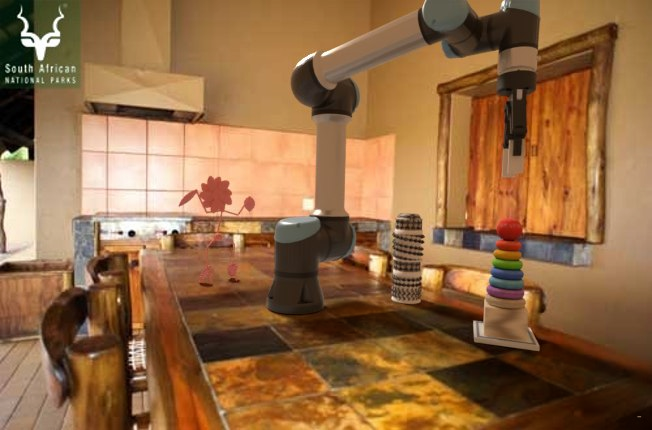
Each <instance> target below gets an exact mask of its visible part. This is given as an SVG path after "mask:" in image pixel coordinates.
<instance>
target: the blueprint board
mask: <svg viewBox="0 0 652 430" xmlns="http://www.w3.org/2000/svg"><path fill="white" fill-rule="evenodd" d="M472 321H473V322H472V323H473V324H472V327H473V341H474V343H477V344H478V343H479V344H486V345H493V346H501V347H508V348H515V349H522V350H530V351H535V352H540V344H539V342H538V340H537V339H536V337H535V334H534V332H533V331H532V329H531V327H528V326H527V339H526V341H521V340H514V339H507V338H500V337H493V336H486V335H484V328H483V321H481V320H479V321H478V320H472Z"/></svg>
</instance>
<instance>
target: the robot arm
mask: <svg viewBox="0 0 652 430" xmlns="http://www.w3.org/2000/svg"><path fill="white" fill-rule="evenodd" d="M540 6H541V0H503V1H502V2H501V4H500V8H499V11H497V12H493V13H490V14H487V15H482V16H479V15H478V13H477V12H476V11H475V10H474V9H473V8H472V7H471V5H470V4H469V2H468V0H424V2H423V5H422V7H420V8H417V9H415V10H413V11H411V12H409V13H407V14H404V15H402V16H400V17H398V18H396V19H394V20H392V21H389V22H388V23H385V24H383V25H381V26H378V28H374V29H373V30H371V31H368V32H366V33H363V34H362V35H360V36H358V37H355V38H353V39H351V40H350V41H349V40H348V41H347V42H345V43H343V44H341V45H338V46H335V47H334V48H332V49H330V50H327V51H324V50H322V49H321V50H320V49H319V50H317V51H315V52H313V53H311V54H309V55H307V56H306V57H304V58H302V59H301V60H300V61H299V62H298V63H297V64H296V66H295V67H294V68H293V70H292V72H291V76H290V87H291V88H290V89H291V92H292V95H293V96H294V98H295V99H296V100H297V101H298V102H299V103H300V104H302V105H304V106H306V107H308V108H311V110H310V111H311V118H310V119H311V121H313V123H314V124H315V125H316V129H315V130H316V131H315V132H316V134H315V135H316V138H315V139H316V140H315V142H316V143H315V174H314V175H315V177H314V178H315V179H314V180H315V183H314V185H315V186H314V188H315V189H314V190H315V191H314V209H312V210H311V212H310V213H309V214H308V215H309V216H308V215H307V216H297V217H296V216H294V217H285V218H283V219H281V220H279V221H278V222H277V223H276V224H275V228H274V229H275V231H274V237H273V239H274V249H273V250H274V261H273V262H274V263H273V264H274V265H273V267H274V268H273V279H272V282H271V285H270V287H269V291H268V293H267V297H266V308H267V310H270V311H272V312H274V313H279V314H285V315H305V314H306V315H307V314H312V313H317V312H318V313H319V312H320V311H322V310H323V309H324V308H325V297H324V294H323V293H324V292H323V290H322V289H323V288H322V286H321V283H320V280H319V279H320V278H319V272H320V271H319V268H320V264H321V263H327V262H336V261H340V260H341V259H344V258H347V257H348V256H349V255H350V254H351V253H352V252H353V250H354V249H355V247H356V243H357V232H356V229H355V228H354V227H353V225H352V223H350V213H348V211H347V210H346V209H345V196H346V195H345V194H346V158H347V157H346V155H347V154H346V153H347V151H346V150H347V126H348V125H349V124H350V123H351V121H352V120H353V114H354V113H355V112H356V109H357V108H358V107H359V104H360V100H361V92H360V89H359V88H360V87H359V86H358V84H357V82H356V81H355V80H354V79H353V78H352V77H355V76H357V75H360V74H362V73H365V72H368V71H370V70H372V69H374V68H378V66H379V67H380V66H382V65H385V64H388V63H389V62H392V61H394V60H396V59H399V58H402V57H404V56H406V55H410V54H411V53H414V52H416V51H419V50H422V49H423V48H426V47H429V46H431V45H435V44H437V43H439V42H440V44H441V45H440V47H441V49H442V50H441V51H443V54H444V56H445V58H447V59H449V60H450V59H463V58H466V57H470V56H475V55H479V54H485V53H490V52H495V51H498V54H497V68H496V69H497V70H496V71H497V76H498V77H497V79H496V94H497V95H498V96H500V97H507V98H508V100H507V101H505V103H504V105H503V106H504V107H503V112H504V119H503V120H504V121H503V123H504V128H503V129H504V130H503V140H502V141H503V142H502V148H503V150H502V163H501V165H502V167H501V170H502V171H501V179H503V178H509V179H510V178H516V175H517V174H520V175H523V174H524V167H525V165H524V164H525V163H524V162H525V145H526V144H525V143H526V138H527V135H526V134H527V133H528V127H527V126H528V125H527V124H528V118H527V116H528V115H527V106H528V100H527V96H529V95H531V94H534V93H535V91H536V90H537V82H538V81H537V80H538V79H537V77H538V75H537V73H536V71H537V70H538V62H540V61H541V60H542V59H541V58H542V57H541V55H538V52H539V41H540V40H539V39H540V37H539V36H540V26H541V25H540V24H541V15H540V13H541V10H540V9H541V7H540Z"/></svg>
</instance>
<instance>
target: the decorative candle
mask: <svg viewBox="0 0 652 430" xmlns="http://www.w3.org/2000/svg"><path fill="white" fill-rule="evenodd" d="M394 219H395V228H394V232H393V233H391V236H392V237H394V239H392V243H393V245H392V249H393V250H394V251H392V256H393V258H392V260H394V261H393V272H392V275H391V277H392V279H393V280H391V283H392V284H393V285H392V286H391V293H390V294H391V295H392V296H391V299H390V300H391V301H392V302H394V303H400V304H405V305H407V304H408V305H414V304H415V305H416V304H419V303H421V301H422V300H421V297H422V288H421V287H420V286H422V282H421V281H422V279H423V278H422V270H421V267H422V266H421V265H422V263H421V262H423V258H421V257H423V256H424V253H423V252H422V251H424V250H425V249H424V247H422V246H423V245H424V244H425V240H424V239H425V237H426V236H425V235H424V234H423V230H424V229H423V220H424V218H421V215H420V214H419V213H410V212H409V213H407V212H405V213H404V212H402V213H398V214H397V217H395V218H394Z"/></svg>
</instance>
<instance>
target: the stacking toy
mask: <svg viewBox="0 0 652 430" xmlns="http://www.w3.org/2000/svg"><path fill="white" fill-rule="evenodd" d="M495 230H496V234H497V235H498V237H499V238H500V239H498V240H497V241H496V242H495V247H496V248H497V249H495V250H494V251H493V252H492V253H493V256H494V258H493V259H492V261H491V264H492V267H491V269H490V274H491V276H490V277H489V278H488V282H489V284H488V285H487V286H486V289H485V290H486V294H485V296H484V297H485V298H484V299H485V300H486V302H487V303H488V304H490V305H493V306H496V307H501V308H508V309H518V308H522V307H524V306H525V307H526V304H527V302H526V299H525V298H524V297H525V290H524V289H523V288H524V287H525V281H524V280H523V278H524V275H525V273H524V271H523V270H522V268H523V267H524V264H523V262H522V260H521V259H522V257H523V256H522V253H521V252H520V250H521V249H522V243H521V242H520V241H518V240H519V239H520V238H521V236H522V234H523V226H522V224H521V222H520V221H519V220H518V219H516V218H512V217H507V218H503V219H501V220H500V221H499V222H498V223H497V225H496V229H495Z"/></svg>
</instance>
